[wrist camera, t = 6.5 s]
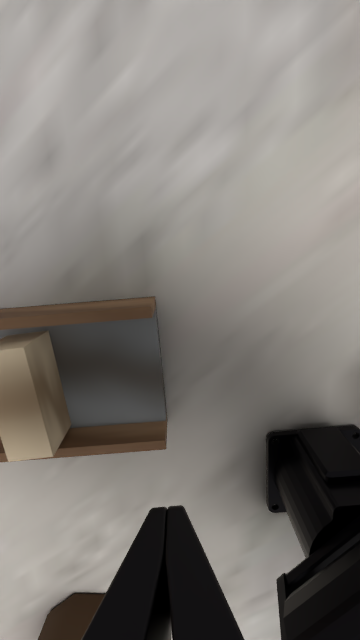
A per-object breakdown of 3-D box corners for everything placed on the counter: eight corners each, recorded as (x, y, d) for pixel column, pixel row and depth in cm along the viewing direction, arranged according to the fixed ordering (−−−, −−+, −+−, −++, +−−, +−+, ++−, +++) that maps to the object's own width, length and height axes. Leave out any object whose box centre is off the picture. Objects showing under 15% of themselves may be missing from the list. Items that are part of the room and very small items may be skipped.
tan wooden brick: (71, 424, 19) (53, 456, 16) (33, 429, 19) (8, 461, 16) (48, 330, 18) (23, 347, 15) (6, 335, 18) (-26, 353, 15)
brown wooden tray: (167, 419, 20) (165, 455, 17) (-87, 440, 20) (-139, 478, 17) (154, 296, 18) (150, 308, 15) (-129, 319, 18) (-197, 336, 15)
